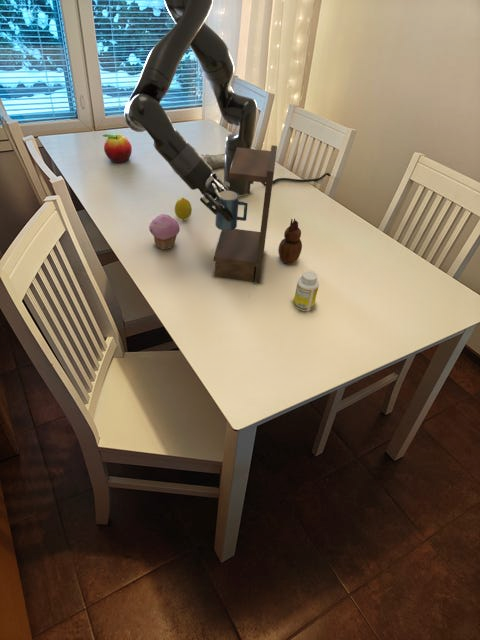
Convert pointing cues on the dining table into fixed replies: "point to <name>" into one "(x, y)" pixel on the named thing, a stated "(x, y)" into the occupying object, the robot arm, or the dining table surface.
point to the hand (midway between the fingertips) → (233, 213)
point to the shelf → (242, 245)
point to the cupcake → (164, 231)
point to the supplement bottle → (306, 291)
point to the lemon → (183, 209)
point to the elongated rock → (214, 160)
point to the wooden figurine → (290, 244)
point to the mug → (231, 204)
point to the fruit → (117, 147)
